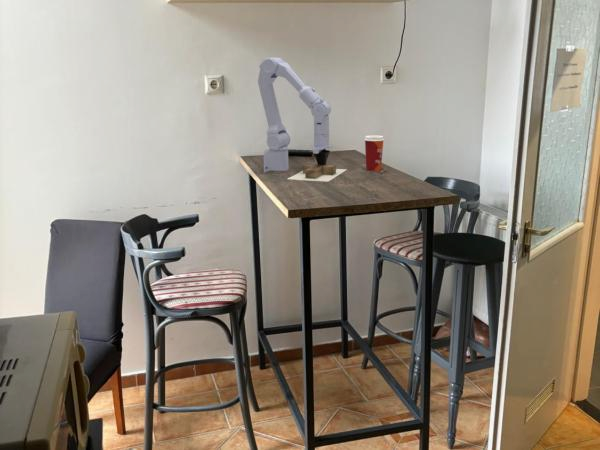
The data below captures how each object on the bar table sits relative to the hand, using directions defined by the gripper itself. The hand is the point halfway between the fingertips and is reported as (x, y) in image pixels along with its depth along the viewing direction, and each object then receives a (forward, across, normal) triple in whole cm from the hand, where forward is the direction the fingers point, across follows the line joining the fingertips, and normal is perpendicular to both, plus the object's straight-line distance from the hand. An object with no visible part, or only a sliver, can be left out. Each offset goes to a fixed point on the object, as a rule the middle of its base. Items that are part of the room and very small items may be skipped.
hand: (321, 169), depth 229 cm
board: (+2, -5, 0) cm, 5 cm away
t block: (+1, -6, 0) cm, 6 cm away
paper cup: (+2, +10, -18) cm, 21 cm away
